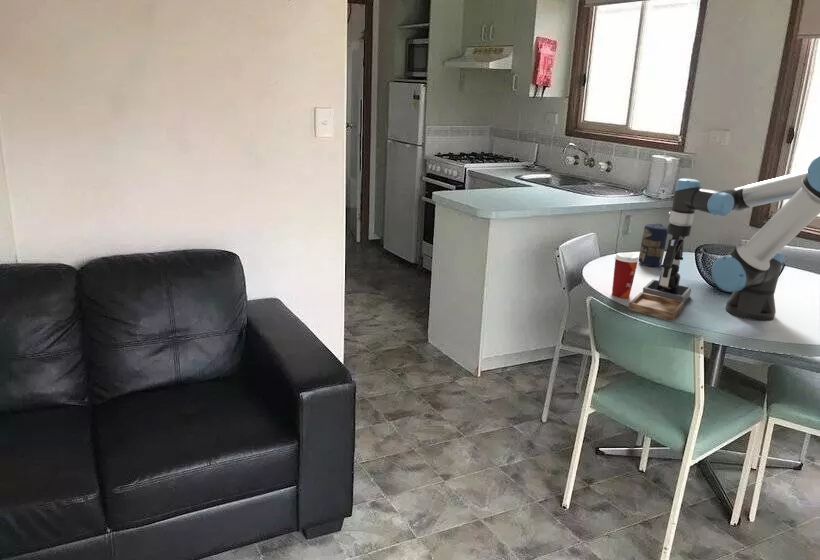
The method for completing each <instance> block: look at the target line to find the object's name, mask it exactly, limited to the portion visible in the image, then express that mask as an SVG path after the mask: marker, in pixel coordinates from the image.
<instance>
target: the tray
mask: <svg viewBox="0 0 820 560" xmlns="http://www.w3.org/2000/svg"><path fill="white" fill-rule="evenodd" d="M684 305H685V303H684V302H682V301H678V300H673V299H669V298H664V297H660V296H656V295H651V294H647V293H643V291H642V292H640V293H638V294H637V295H636V296H635V297H634V298H632V299H631V300H630V301H629V302H628V307H627V310H628V311H633V312H636V313H640V314H644V315H648V316H651V317H652V316H653V317H656V318H661V319H664V320H669V321H674V320H675V319H676V318H677V317H678V315H679V314H680V313H681V312H682V311H683V309H684ZM681 310H682V311H681ZM676 316H677V317H676Z"/></svg>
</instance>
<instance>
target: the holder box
mask: <svg viewBox="0 0 820 560" xmlns="http://www.w3.org/2000/svg"><path fill="white" fill-rule="evenodd" d="M658 282H659V279H651V280H650V281H649V282H648V283H647V284H646V285H644V287H643V288H642V293H647V294H651V295H656V296H660V297H664V298H669V299H673V300H678V301H682V302H684V304H685V303H686V302H687V301H688V299H690V297H691V293H692V287H691V286H685V285H681V284H679V286H678V290H677V295H676V294H671V293H667V292H662V291H658V290H657V287H658Z"/></svg>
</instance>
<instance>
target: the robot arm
mask: <svg viewBox="0 0 820 560" xmlns="http://www.w3.org/2000/svg"><path fill="white" fill-rule="evenodd" d="M785 200H788V201H787V202H785V204H783V206H781V208H779V210H777V212H776V213H774V215H773V216H772V217H771V218H770V219H769V220H767V222H766V223H765V224H764V225H763V226H762V227H760V228H759V230H758V231H757V232H756V233H754V234H753V236H752V237H751V238H750V239H748V240H747V242H741V243H740V242H739V243H738V244H737V245H736V246H734V248H733V249H732V250H731V251H730V252H729V253H728V254H727V255H722V256H720V257H718V258H717V259H716V260H714V261H713V264H712V267H711V278H712V279H713V281H714V283H715V284H716V286H717V287H718V288H719V289H721V290H723V291H726V292H729V293H730V292H732V294H731V295H730V296H729V298H728V299H727V301H726V304H725V310H726V312H728V313H730V314H732V315H734V316H736V317H739V318H743V319H745V320H746V319H747V320H750V321H758V322H760V321H761V322H763V321H764V322H766V321H767V322H769V321H773V320H774V319H775V318H776V312H777V311H776V303H775V291H776V288H777V285H778V281H779V278H780V277H779V276H780V272H781V269H782V265H783V264H784V263H783V259H784V254H783V253H782V252H781V251H782V250H783V249H784V248H785V247H786V246H787V245H788V244H789V243H790V242H791V241H792V240H793V239H795V238H796V236H798V234H799V233H801V232H802V231H803V230H804V229H805V228H806V227H807V226H808V225H809V224H810V223H811V222H812V221H813V220H815V219H816V217H817V216H818V215H820V154H818V155H817V156H816V157H815V158H813V160H812V161H811V162H810V163H809V166H808V167H807V169H805V170H802V171H798V172H795V173H791V174H786V175H782V176H778V177H775V178H771V179H767V180H763V181H759V182H755V183H751V184H747V185H742V186H739V187H735V188H734V187H733V188H729V189H717V190H715V189H714V190H713V189H709V188H703V187H701V181H700V180H697V179H693V178H679V179H677V181H676V185H675V189H674V194H673V200H672V204H671V210H670V211H669V212H668V215H669V218H668V219H669V220H668V221H669V222H668V225H667V233H668V234H667V235H671V236H672V237H671V239H668V245H667V249H666V250H665V253H664V254H665V255H664V257H663V260H662V264H661V265H660V268H662V271H661V272H662V275H661V280H660V285H662V286H666V287H668V284H669V279H670V274H671V266H672V264H675V265H678V266H679V267H680V264H681V261H683V260H684V257H683V256H684V255H683V253H684V244H685V238H686V237H690V235H691V230H692V226H691V225H692V224H693V222H694V217H695V211H700V212H703V213H706V214H711V215H713V216H721V217H725V216H727V215H728V214H730V213H731V212H740V211H744V210H747V209H750V208H754V207H758V206H762V205H767V204H772V203H776V202H780V201H785ZM667 264H669V265H667Z"/></svg>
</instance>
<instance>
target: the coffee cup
mask: <svg viewBox="0 0 820 560" xmlns="http://www.w3.org/2000/svg"><path fill="white" fill-rule="evenodd" d="M614 259H615V260H614V268H613V280H612V291H611V295H612V296H614V298H620V299H628V298H630V295H631V291H632V287H633V283H634V279H635V274H636V271H637V266H638V263H639V255H637V254H635V253H630V252H617V253H616V255H615V256H614Z"/></svg>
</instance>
